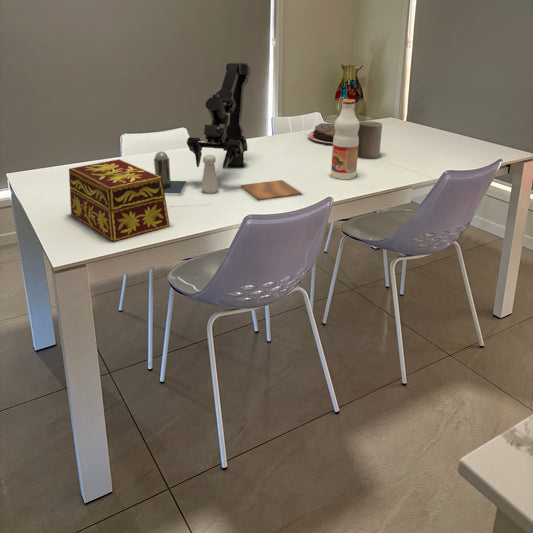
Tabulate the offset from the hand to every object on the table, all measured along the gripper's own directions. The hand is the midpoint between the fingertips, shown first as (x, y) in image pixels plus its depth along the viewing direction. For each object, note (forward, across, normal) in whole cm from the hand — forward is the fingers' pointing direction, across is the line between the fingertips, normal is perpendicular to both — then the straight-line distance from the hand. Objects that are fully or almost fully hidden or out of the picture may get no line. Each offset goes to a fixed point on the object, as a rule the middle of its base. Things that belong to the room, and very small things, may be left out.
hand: (210, 167), depth 200 cm
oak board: (+2, +20, +10) cm, 22 cm away
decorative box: (+30, -19, -17) cm, 39 cm away
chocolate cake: (-57, +36, +68) cm, 96 cm away
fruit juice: (-15, +43, +27) cm, 53 cm away
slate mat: (+6, -17, +6) cm, 19 cm away
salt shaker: (+7, 0, +6) cm, 9 cm away
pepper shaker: (+6, -17, +6) cm, 19 cm away
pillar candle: (-37, +51, +49) cm, 80 cm away
